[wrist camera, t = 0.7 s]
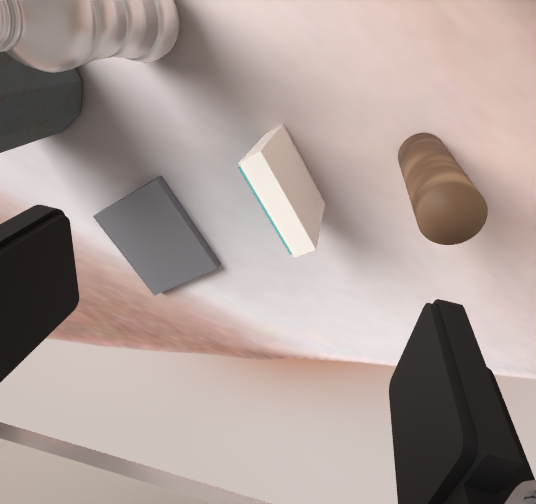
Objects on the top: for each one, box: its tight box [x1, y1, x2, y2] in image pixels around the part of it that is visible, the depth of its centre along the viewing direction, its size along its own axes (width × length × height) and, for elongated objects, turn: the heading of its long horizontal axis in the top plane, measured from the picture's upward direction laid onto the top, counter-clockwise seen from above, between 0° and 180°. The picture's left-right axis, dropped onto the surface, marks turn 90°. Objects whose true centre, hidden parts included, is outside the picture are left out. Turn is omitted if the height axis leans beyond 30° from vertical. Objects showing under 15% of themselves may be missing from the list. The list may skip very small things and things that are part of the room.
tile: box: [238, 124, 325, 258], centre depth 35 cm, size 2×9×10 cm, turn 30°
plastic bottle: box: [0, 0, 179, 73], centre depth 27 cm, size 6×7×20 cm
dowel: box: [398, 133, 487, 245], centre depth 30 cm, size 4×4×14 cm
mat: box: [93, 176, 220, 295], centre depth 46 cm, size 10×12×1 cm
